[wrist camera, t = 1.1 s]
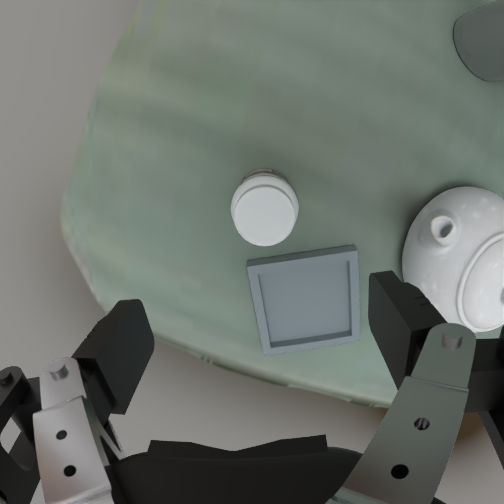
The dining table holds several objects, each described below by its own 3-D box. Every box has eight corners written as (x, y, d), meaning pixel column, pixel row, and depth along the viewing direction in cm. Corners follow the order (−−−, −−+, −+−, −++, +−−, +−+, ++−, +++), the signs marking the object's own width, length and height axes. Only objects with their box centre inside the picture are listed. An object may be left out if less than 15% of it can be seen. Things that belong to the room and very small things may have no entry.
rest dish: (353, 244, 35) (357, 250, 33) (356, 332, 39) (359, 340, 38) (247, 260, 36) (246, 266, 35) (263, 346, 40) (263, 355, 39)
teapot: (393, 329, 39) (432, 400, 26) (383, 191, 33) (445, 227, 20) (500, 294, 37) (552, 344, 24) (504, 170, 31) (578, 194, 18)
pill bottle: (276, 229, 35) (281, 265, 26) (228, 206, 34) (214, 235, 25) (301, 182, 33) (316, 201, 24) (251, 158, 32) (246, 167, 23)
